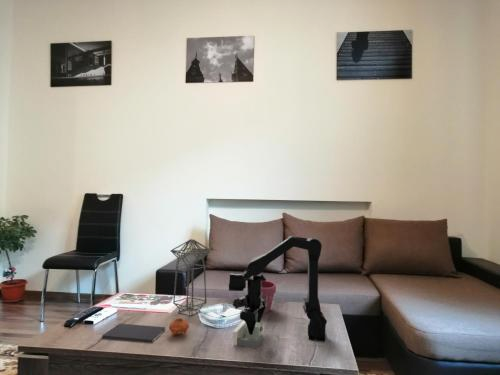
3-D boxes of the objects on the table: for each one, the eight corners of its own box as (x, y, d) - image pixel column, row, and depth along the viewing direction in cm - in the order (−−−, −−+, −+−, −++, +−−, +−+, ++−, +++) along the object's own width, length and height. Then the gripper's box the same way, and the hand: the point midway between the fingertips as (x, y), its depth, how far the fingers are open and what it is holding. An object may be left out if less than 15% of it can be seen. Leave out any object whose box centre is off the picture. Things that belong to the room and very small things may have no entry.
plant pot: (266, 317, 159) (266, 289, 159) (241, 311, 166) (241, 285, 166) (280, 308, 171) (280, 282, 171) (256, 303, 178) (256, 278, 179)
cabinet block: (263, 335, 139) (263, 322, 139) (260, 340, 134) (260, 327, 134) (249, 333, 141) (249, 321, 141) (245, 338, 136) (245, 325, 136)
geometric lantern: (166, 313, 163) (168, 239, 165) (190, 305, 176) (191, 237, 177) (190, 319, 154) (191, 241, 156) (213, 311, 167) (214, 239, 168)
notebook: (101, 339, 134) (152, 343, 131) (102, 335, 134) (152, 339, 131) (119, 327, 147) (166, 330, 143) (119, 323, 147) (166, 327, 143)
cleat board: (268, 333, 140) (268, 321, 140) (258, 348, 126) (258, 335, 126) (245, 330, 143) (245, 318, 143) (233, 344, 129) (233, 331, 129)
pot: (192, 330, 142) (191, 315, 140) (184, 342, 135) (183, 327, 133) (175, 327, 144) (174, 313, 143) (165, 339, 137) (164, 324, 135)
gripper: (242, 283, 149) (242, 319, 149) (227, 295, 131) (227, 336, 131) (267, 285, 146) (267, 322, 145) (255, 298, 128) (254, 340, 128)
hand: (254, 330), depth 137 cm, fingers open, 9 cm apart
